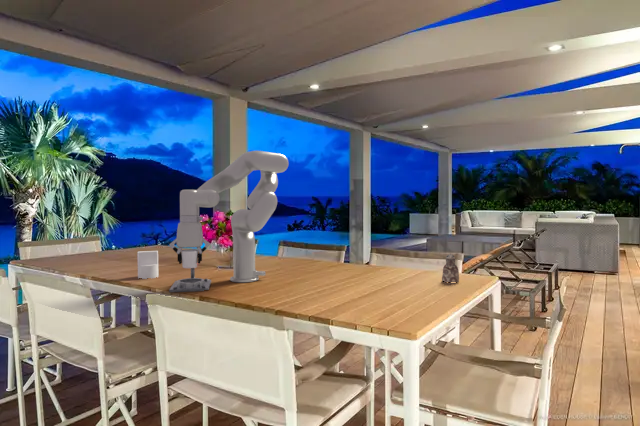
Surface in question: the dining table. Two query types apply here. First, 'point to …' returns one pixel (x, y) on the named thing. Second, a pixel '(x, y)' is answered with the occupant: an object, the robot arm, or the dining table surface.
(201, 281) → the valve body
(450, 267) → the figurine
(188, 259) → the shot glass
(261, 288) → the dining table surface
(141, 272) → the base with upright slab
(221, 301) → the dining table surface
